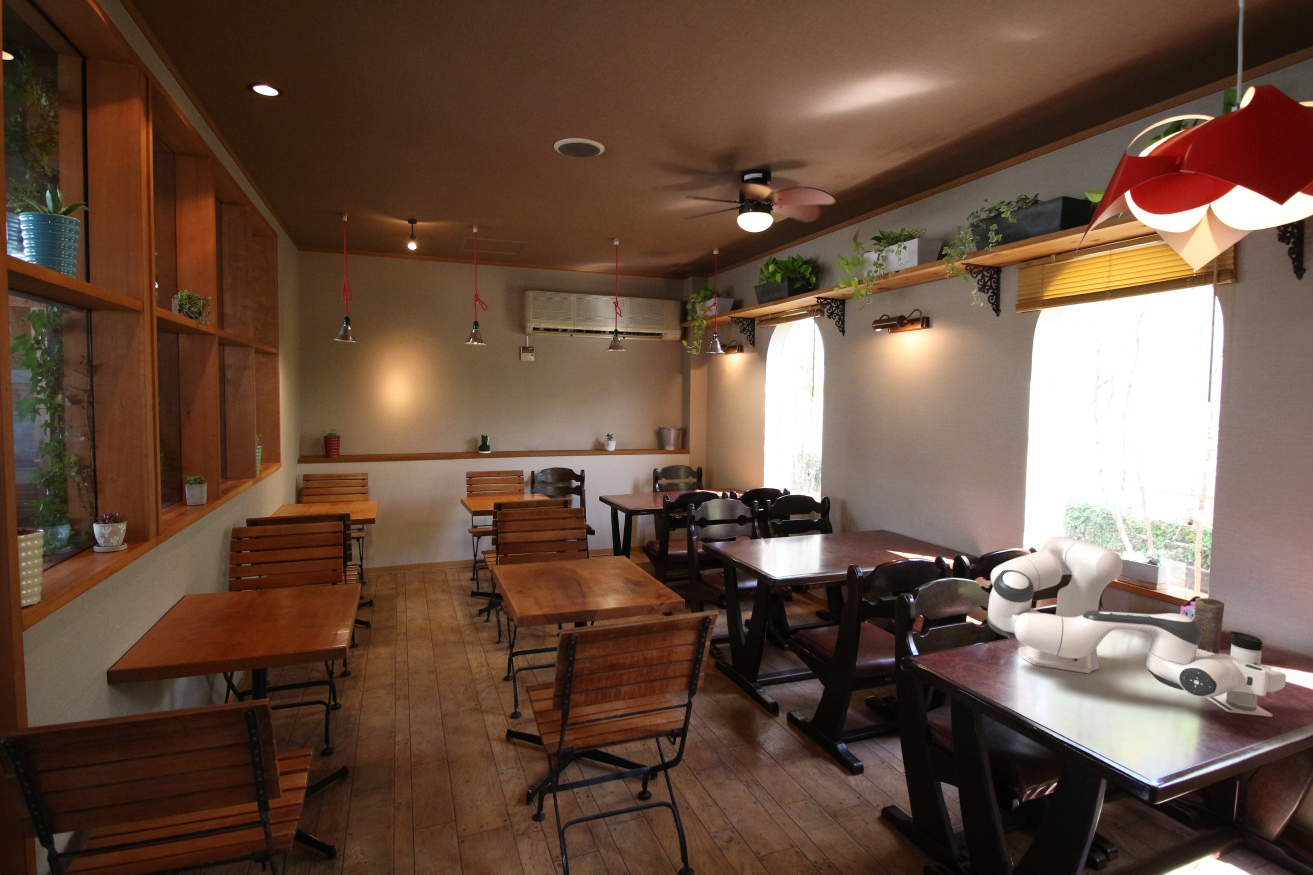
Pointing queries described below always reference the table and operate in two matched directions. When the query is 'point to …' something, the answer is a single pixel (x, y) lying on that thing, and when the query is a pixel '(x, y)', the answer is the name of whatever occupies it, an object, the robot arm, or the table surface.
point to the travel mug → (1249, 652)
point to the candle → (1209, 623)
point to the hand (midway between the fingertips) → (1244, 663)
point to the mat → (1222, 703)
